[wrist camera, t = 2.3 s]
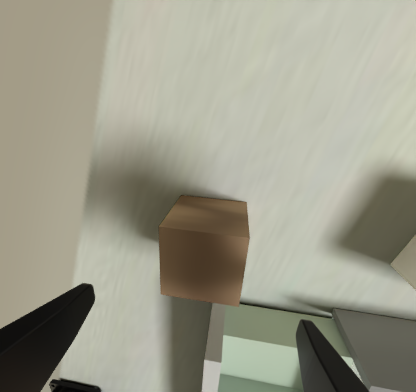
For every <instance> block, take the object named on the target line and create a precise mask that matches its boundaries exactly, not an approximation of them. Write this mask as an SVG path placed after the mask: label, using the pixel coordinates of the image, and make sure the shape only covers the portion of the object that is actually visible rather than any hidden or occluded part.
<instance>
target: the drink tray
mask: <svg viewBox="0 0 416 392" xmlns="http://www.w3.org/2000/svg"><path fill="white" fill-rule="evenodd" d="M301 319H307V320H311V321H312V322H313V323H314V324H315V325H316V326H317V328H318V329H319V330H320V331H321V332H322V334H323V335H324V336H325V337H326V339H327V340H328V341H329V342H330V344H331V345H332V346H333V347H334V348H335V350H336V351H337V352H338V353H339V355H340V356H341V357H342V358H343V359H344V361H345V362H346V363H347V364H348V366H349V367H350V368H351V366H352V364H353V362H354V361H353V359H352V357H351V355H350V353H349V350H348V348H347V346H346V344H345V342H344V340H343V338H342V335H341V333H340V331H339V329H338V327H337V325H336V322H335V320H334V319H329V318H323V317H317V316H311V315H305V314H298V313H292V312H286V311H280V310H274V309H267V308H261V307H255V306H249V305H243V304H239V307H236V306H230V305H223V304H217V303H212V310H211V317H210V324H209V331H208V338H207V345H206V352H205V359H204V370H203V382H202V392H304V390H303V385H302V379H301V372H300V365H299V358H298V351H297V344H296V331H297V327H298V324H299V321H300V320H301Z"/></svg>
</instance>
